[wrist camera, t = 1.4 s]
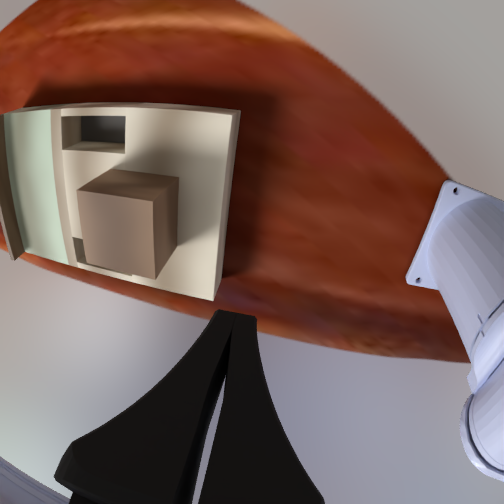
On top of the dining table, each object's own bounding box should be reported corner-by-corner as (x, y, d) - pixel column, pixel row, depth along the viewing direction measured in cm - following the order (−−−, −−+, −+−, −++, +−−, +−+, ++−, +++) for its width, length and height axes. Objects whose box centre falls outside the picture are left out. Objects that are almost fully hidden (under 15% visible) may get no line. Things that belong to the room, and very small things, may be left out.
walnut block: (179, 177, 16) (152, 201, 13) (177, 246, 19) (155, 280, 16) (110, 168, 17) (76, 190, 14) (114, 233, 19) (86, 262, 16)
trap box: (241, 110, 16) (225, 118, 13) (221, 279, 23) (207, 315, 19) (22, 107, 17) (-14, 119, 14) (37, 236, 24) (11, 259, 20)
